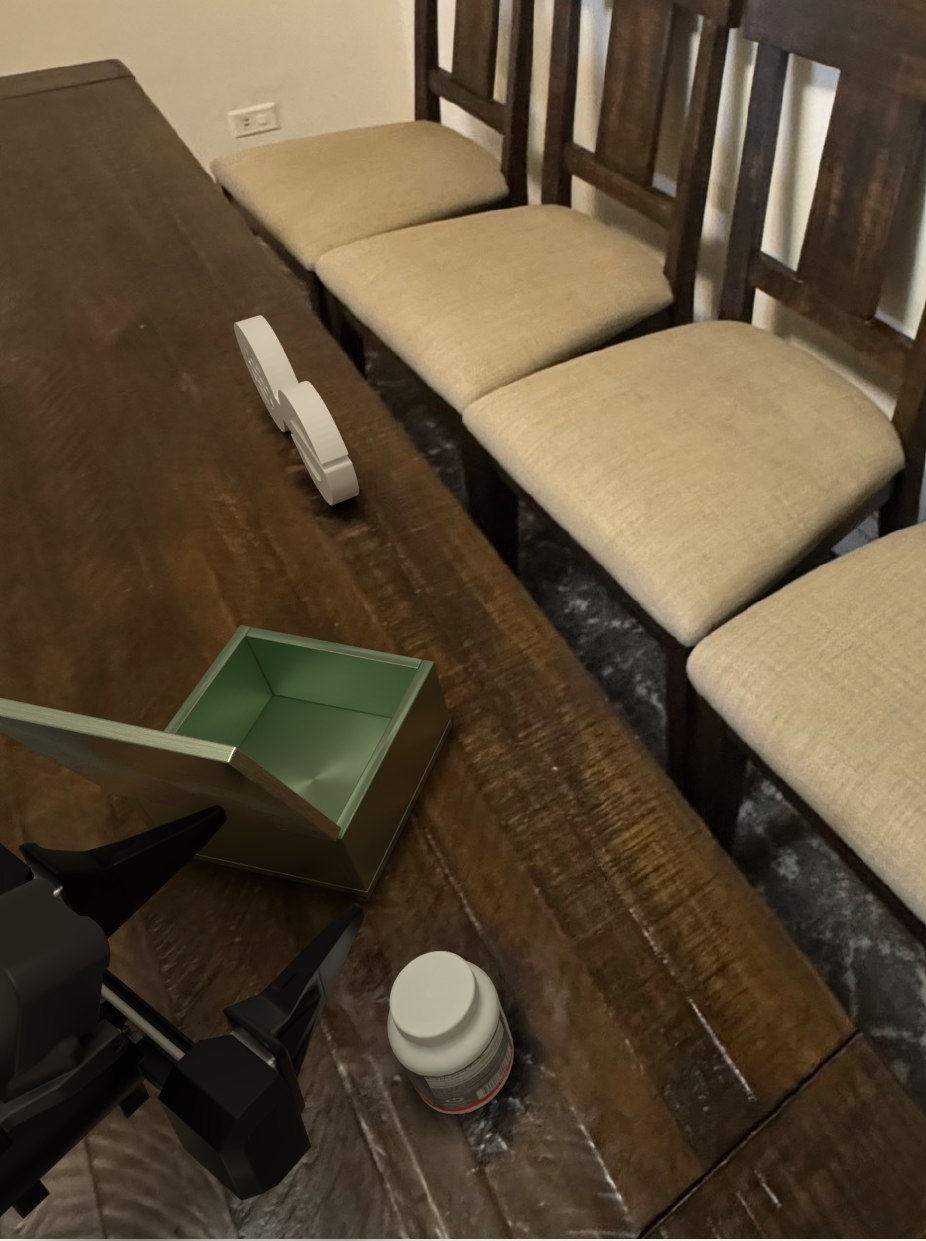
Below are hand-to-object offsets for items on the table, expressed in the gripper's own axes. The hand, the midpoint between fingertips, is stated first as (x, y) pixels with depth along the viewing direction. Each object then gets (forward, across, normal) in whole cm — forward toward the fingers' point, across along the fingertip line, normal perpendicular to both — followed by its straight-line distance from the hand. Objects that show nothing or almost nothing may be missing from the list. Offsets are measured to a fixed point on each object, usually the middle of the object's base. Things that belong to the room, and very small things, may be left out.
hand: (289, 858), depth 47 cm
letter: (+32, +38, +10) cm, 51 cm away
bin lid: (0, +9, 0) cm, 9 cm away
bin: (+10, +12, +13) cm, 20 cm away
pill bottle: (+2, -8, +15) cm, 17 cm away
